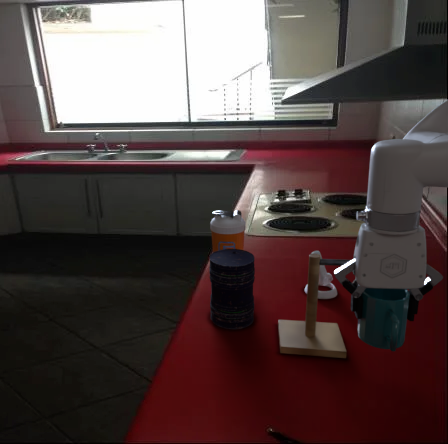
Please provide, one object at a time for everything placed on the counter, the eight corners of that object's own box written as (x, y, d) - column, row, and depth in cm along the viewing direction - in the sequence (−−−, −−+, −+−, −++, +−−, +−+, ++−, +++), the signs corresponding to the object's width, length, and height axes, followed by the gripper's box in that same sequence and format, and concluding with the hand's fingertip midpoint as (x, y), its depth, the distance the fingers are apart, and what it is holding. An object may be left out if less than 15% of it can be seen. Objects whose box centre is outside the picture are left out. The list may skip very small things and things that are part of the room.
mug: (353, 324, 77) (356, 280, 75) (397, 326, 76) (401, 281, 73) (367, 360, 67) (371, 311, 65) (418, 364, 66) (424, 313, 63)
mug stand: (372, 331, 87) (382, 247, 81) (386, 361, 77) (398, 269, 72) (278, 325, 91) (280, 245, 85) (280, 353, 82) (283, 265, 76)
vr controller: (306, 257, 112) (328, 249, 106) (322, 301, 108) (345, 295, 103) (288, 259, 107) (311, 250, 102) (304, 305, 104) (328, 298, 98)
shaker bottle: (210, 277, 116) (208, 207, 109) (242, 275, 115) (242, 206, 109) (212, 292, 107) (211, 218, 101) (247, 291, 107) (248, 216, 101)
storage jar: (250, 332, 89) (251, 268, 84) (205, 326, 92) (203, 264, 88) (257, 309, 98) (258, 250, 93) (216, 304, 101) (214, 247, 97)
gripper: (337, 226, 65) (332, 325, 70) (464, 226, 61) (448, 330, 66) (329, 212, 72) (325, 303, 77) (443, 211, 68) (430, 307, 73)
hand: (382, 315), depth 72 cm, fingers closed on mug, 7 cm apart
